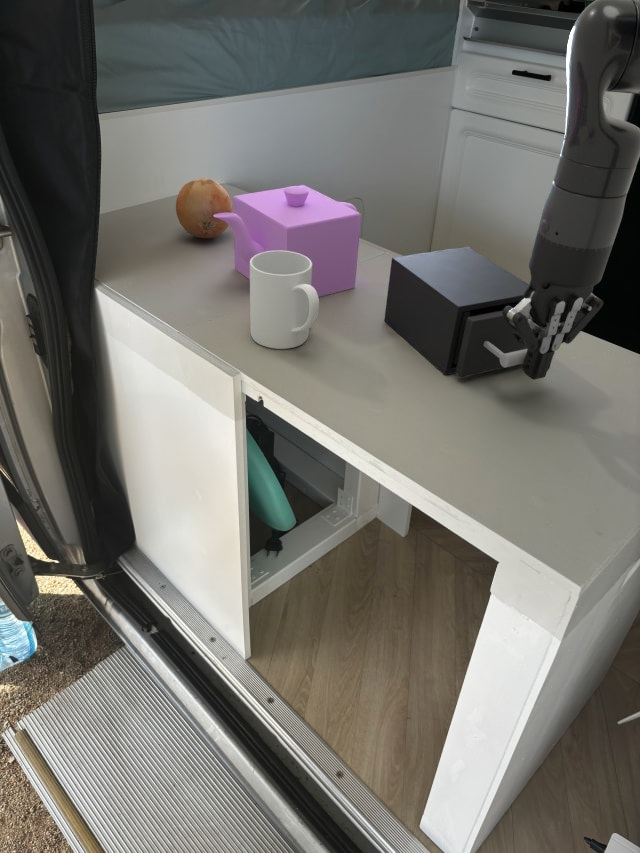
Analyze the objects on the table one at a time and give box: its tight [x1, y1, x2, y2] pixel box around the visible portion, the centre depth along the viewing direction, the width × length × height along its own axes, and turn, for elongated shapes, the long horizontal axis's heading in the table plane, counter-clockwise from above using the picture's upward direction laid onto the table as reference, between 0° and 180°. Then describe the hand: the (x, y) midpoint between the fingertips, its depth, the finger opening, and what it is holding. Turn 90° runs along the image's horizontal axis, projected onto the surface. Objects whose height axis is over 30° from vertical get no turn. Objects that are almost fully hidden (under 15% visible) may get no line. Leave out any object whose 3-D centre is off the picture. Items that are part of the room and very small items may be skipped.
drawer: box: [452, 301, 556, 378], centre depth 84 cm, size 20×11×8 cm, turn 25°
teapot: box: [213, 184, 362, 298], centre depth 99 cm, size 15×25×14 cm, turn 125°
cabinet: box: [383, 246, 529, 376], centre depth 88 cm, size 16×13×10 cm
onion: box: [175, 177, 233, 239], centre depth 113 cm, size 10×10×10 cm
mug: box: [249, 250, 320, 350], centre depth 84 cm, size 12×8×10 cm, turn 33°
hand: (533, 375), depth 77 cm, fingers closed
